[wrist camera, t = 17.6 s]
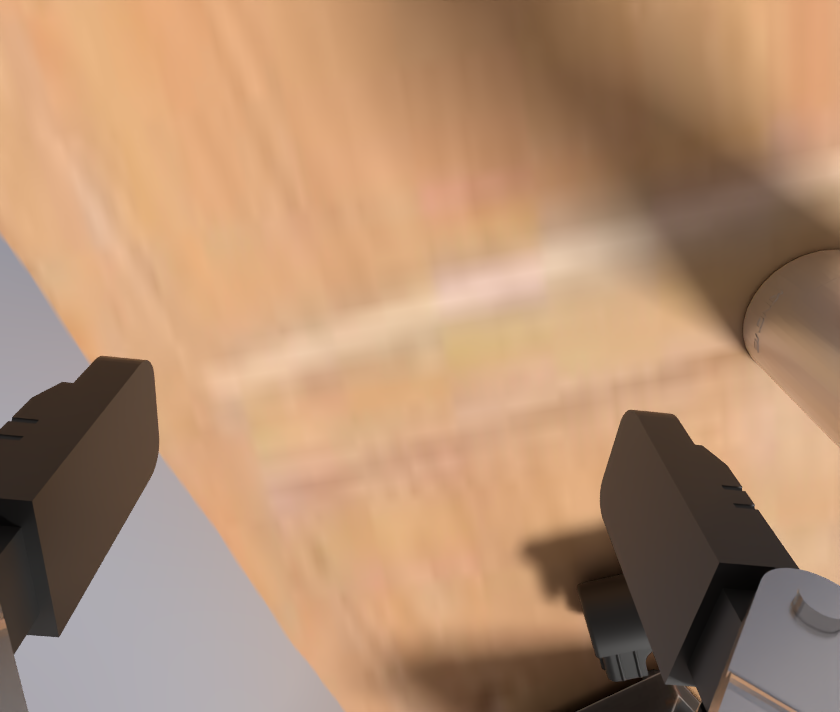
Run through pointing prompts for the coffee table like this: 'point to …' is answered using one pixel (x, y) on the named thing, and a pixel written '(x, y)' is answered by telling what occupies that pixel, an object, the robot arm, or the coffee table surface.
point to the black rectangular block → (615, 627)
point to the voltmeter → (648, 698)
